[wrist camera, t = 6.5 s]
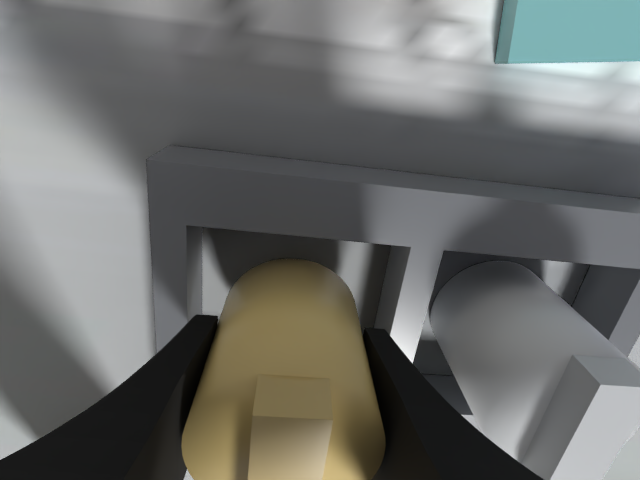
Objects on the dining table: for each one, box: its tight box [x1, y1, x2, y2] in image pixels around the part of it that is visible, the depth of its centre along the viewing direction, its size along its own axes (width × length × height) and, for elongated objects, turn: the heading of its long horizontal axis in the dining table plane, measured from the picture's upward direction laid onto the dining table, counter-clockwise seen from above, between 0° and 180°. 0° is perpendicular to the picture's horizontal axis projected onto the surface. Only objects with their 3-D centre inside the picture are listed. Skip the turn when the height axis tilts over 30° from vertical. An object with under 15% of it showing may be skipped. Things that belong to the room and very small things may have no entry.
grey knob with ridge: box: [430, 261, 640, 480], centre depth 12 cm, size 4×4×6 cm
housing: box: [146, 145, 640, 433], centre depth 14 cm, size 16×11×2 cm
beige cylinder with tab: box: [181, 258, 386, 480], centre depth 10 cm, size 4×4×6 cm
